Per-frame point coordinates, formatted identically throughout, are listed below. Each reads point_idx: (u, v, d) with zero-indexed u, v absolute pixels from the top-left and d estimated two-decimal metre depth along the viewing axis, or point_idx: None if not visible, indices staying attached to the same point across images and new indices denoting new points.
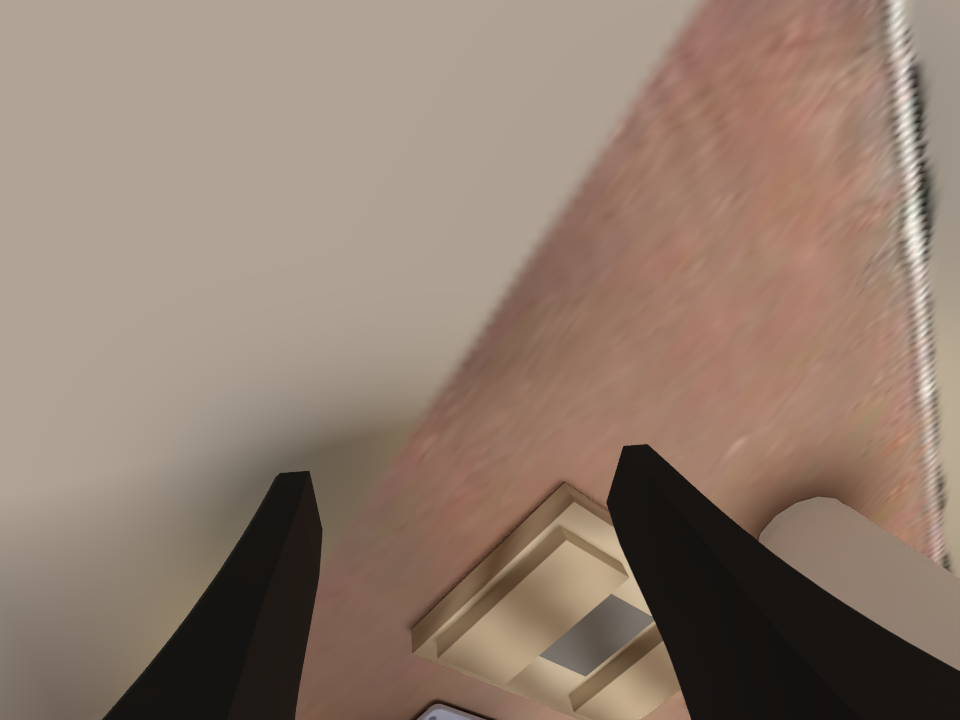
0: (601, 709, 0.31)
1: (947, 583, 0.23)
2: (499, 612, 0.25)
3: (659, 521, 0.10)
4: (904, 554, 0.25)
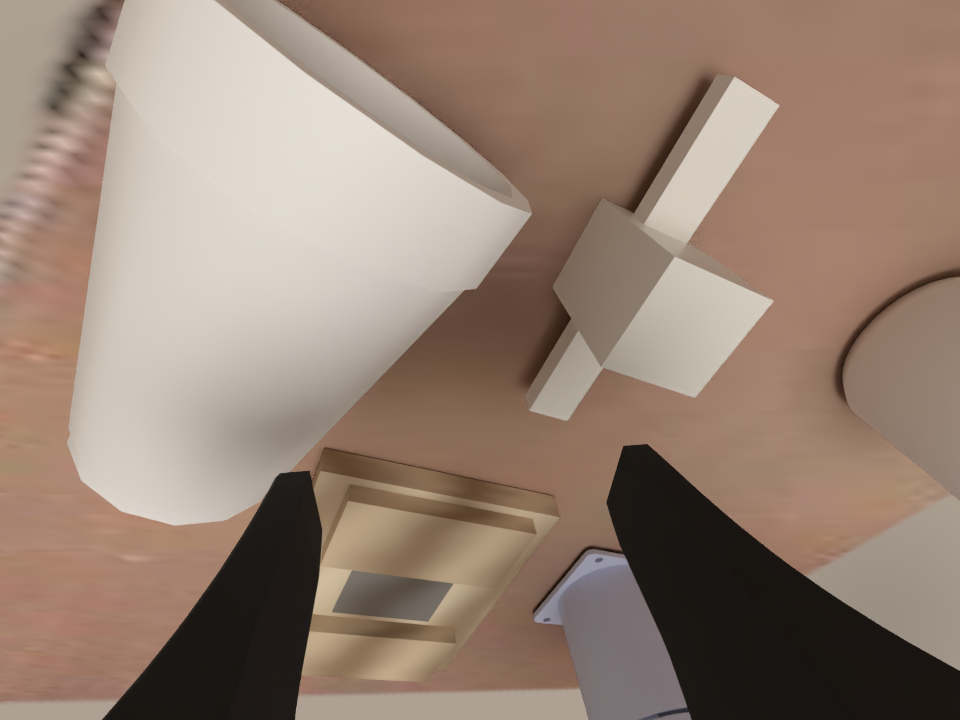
0: (491, 570, 0.27)
1: (116, 277, 0.10)
2: (365, 674, 0.31)
3: (659, 520, 0.10)
4: (103, 345, 0.11)
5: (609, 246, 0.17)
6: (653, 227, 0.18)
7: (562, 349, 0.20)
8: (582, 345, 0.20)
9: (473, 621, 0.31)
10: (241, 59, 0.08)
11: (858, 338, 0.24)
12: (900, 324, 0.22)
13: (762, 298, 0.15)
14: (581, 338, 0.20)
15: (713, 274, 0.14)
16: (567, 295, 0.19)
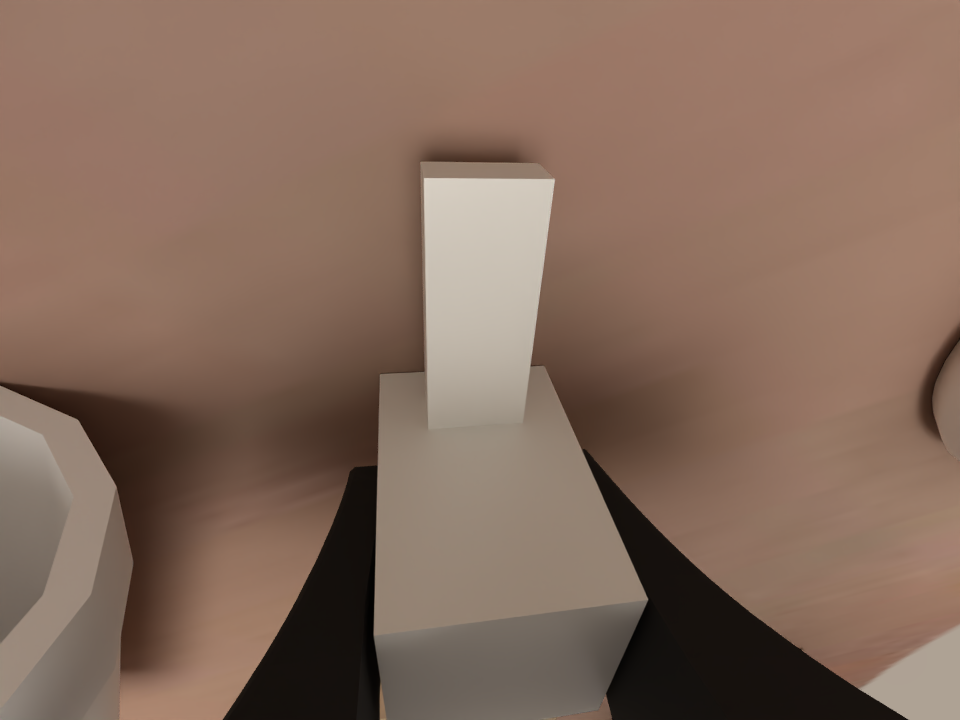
0: None
1: None
2: None
3: None
4: None
5: None
6: (448, 426, 0.10)
7: None
8: None
9: None
10: None
11: (943, 371, 0.14)
12: None
13: (621, 605, 0.07)
14: None
15: (482, 620, 0.07)
16: None
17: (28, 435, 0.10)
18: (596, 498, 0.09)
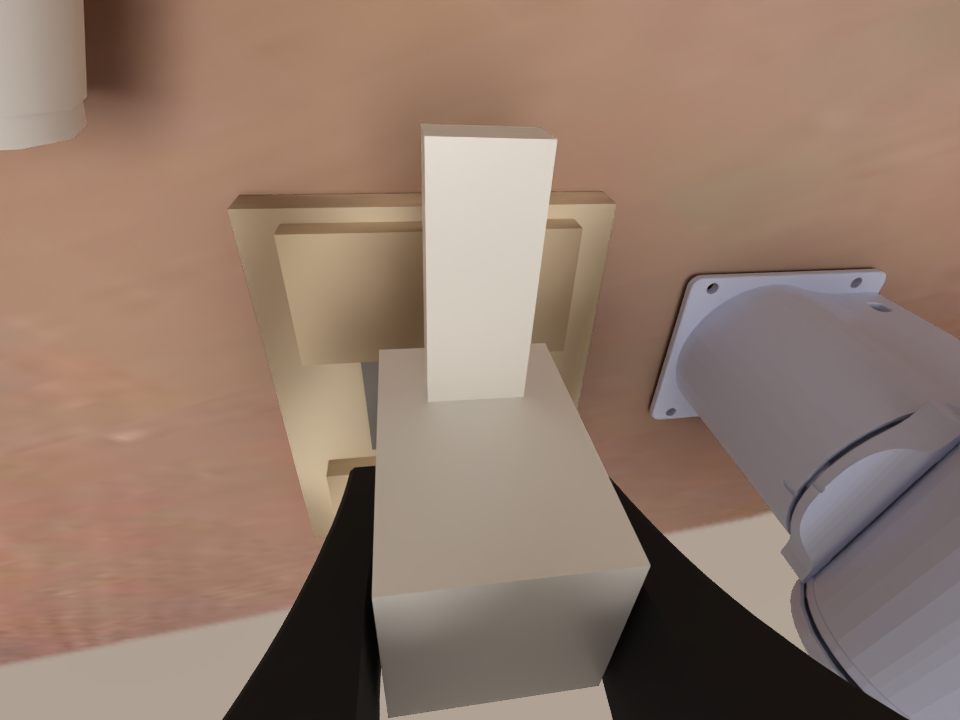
0: (541, 318, 0.18)
1: None
2: None
3: None
4: None
5: None
6: (448, 399, 0.10)
7: None
8: None
9: None
10: None
11: None
12: None
13: (623, 570, 0.07)
14: None
15: (482, 584, 0.07)
16: None
17: None
18: (598, 468, 0.09)
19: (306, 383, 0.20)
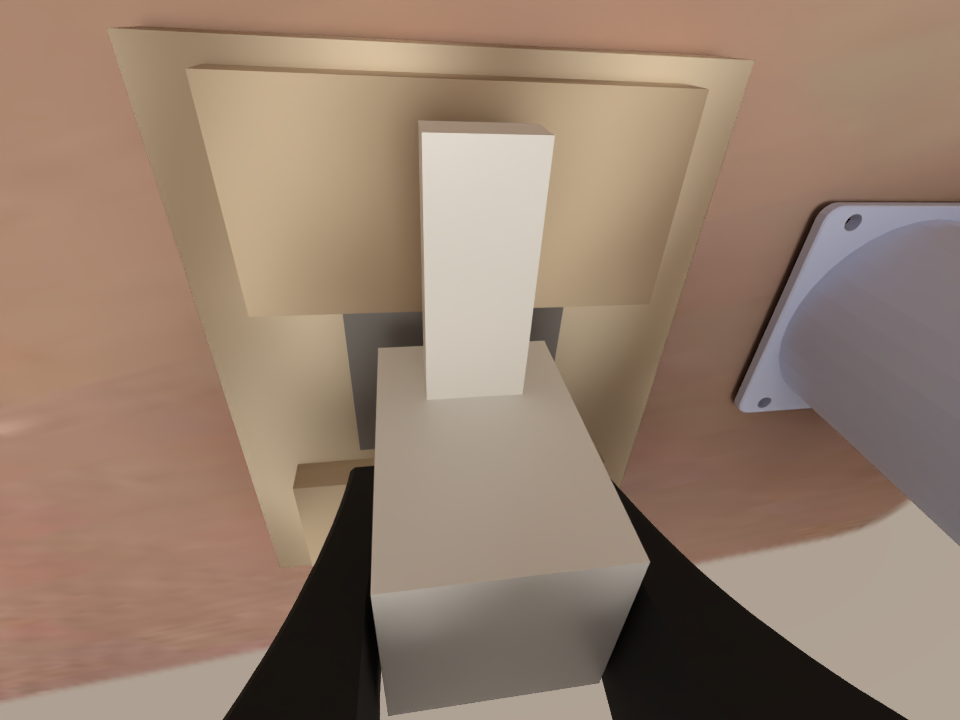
0: (624, 249, 0.12)
1: None
2: None
3: None
4: None
5: None
6: (447, 397, 0.10)
7: None
8: None
9: (626, 420, 0.17)
10: None
11: None
12: None
13: (622, 567, 0.07)
14: None
15: (481, 581, 0.07)
16: None
17: None
18: (597, 465, 0.09)
19: (260, 349, 0.13)
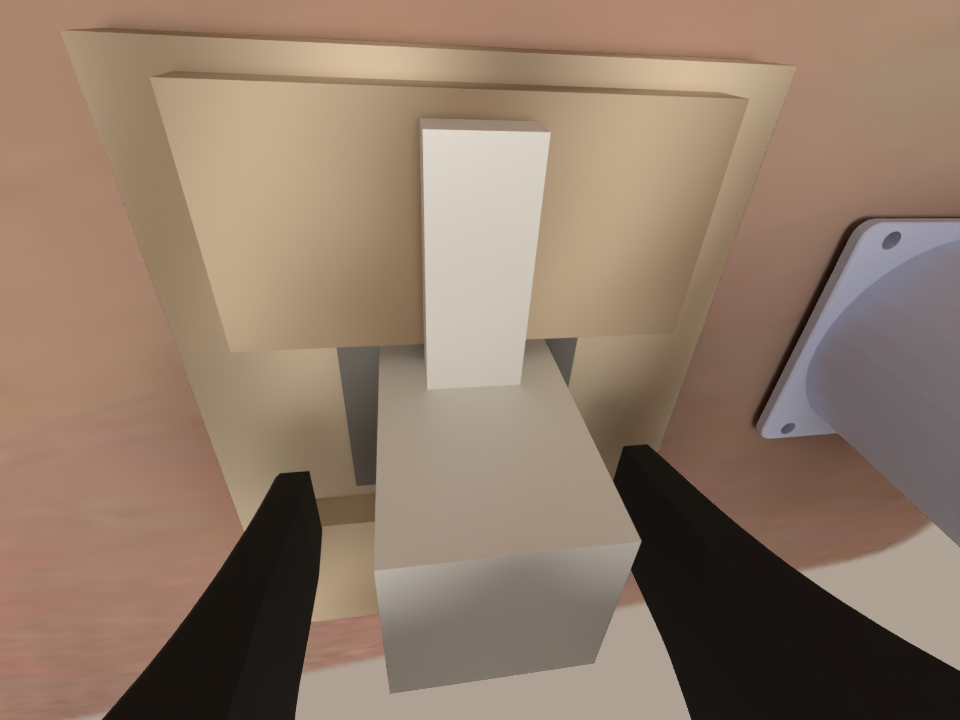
0: (648, 275, 0.11)
1: None
2: None
3: (660, 521, 0.10)
4: None
5: None
6: (447, 387, 0.10)
7: None
8: None
9: None
10: None
11: None
12: None
13: (615, 545, 0.07)
14: None
15: (479, 558, 0.07)
16: None
17: None
18: (591, 451, 0.09)
19: (246, 383, 0.12)
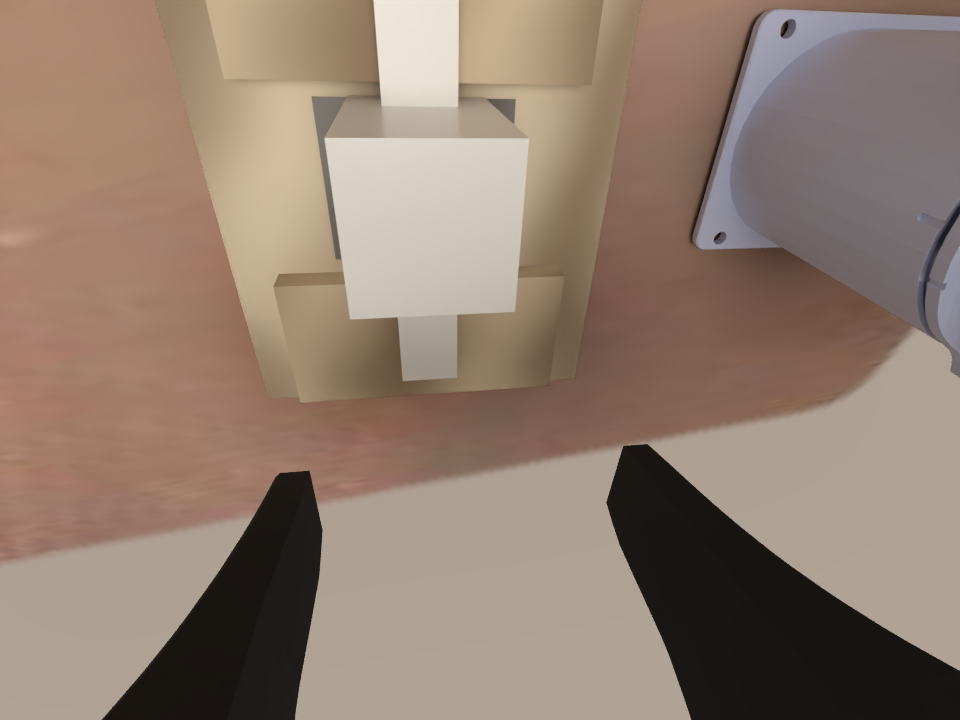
0: (563, 19, 0.13)
1: None
2: (443, 381, 0.19)
3: (660, 521, 0.10)
4: None
5: None
6: (397, 104, 0.13)
7: None
8: None
9: (585, 240, 0.18)
10: None
11: None
12: None
13: (508, 141, 0.10)
14: None
15: (404, 138, 0.10)
16: None
17: None
18: (505, 121, 0.11)
19: (239, 136, 0.14)
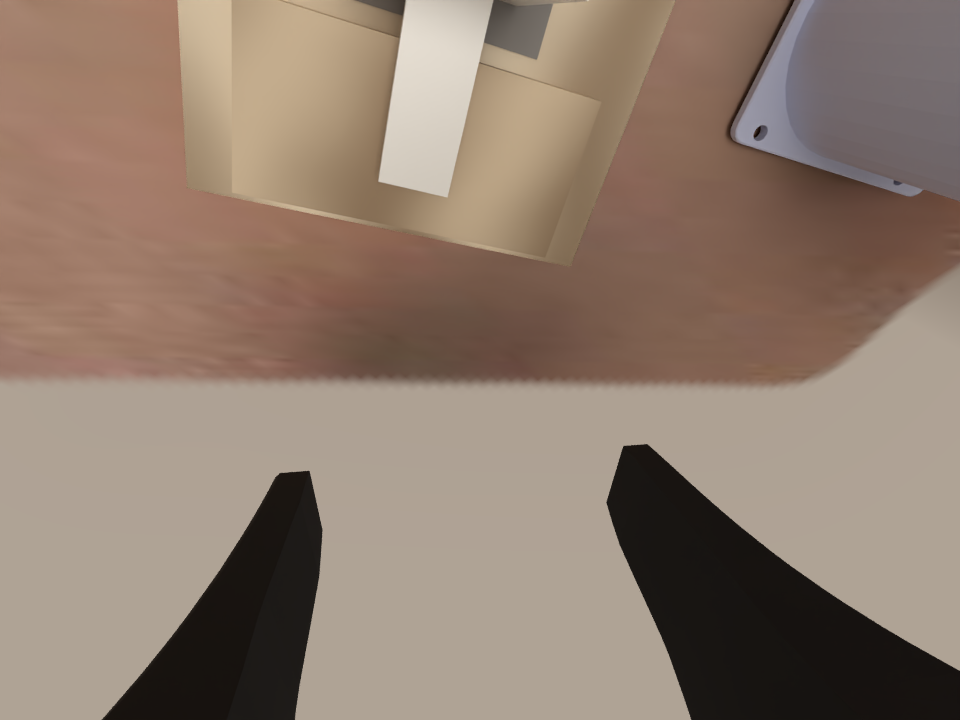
0: None
1: None
2: (423, 214, 0.16)
3: (660, 521, 0.10)
4: None
5: None
6: None
7: (398, 51, 0.12)
8: (424, 30, 0.12)
9: (629, 73, 0.15)
10: None
11: None
12: None
13: None
14: (417, 14, 0.12)
15: None
16: None
17: None
18: None
19: None
